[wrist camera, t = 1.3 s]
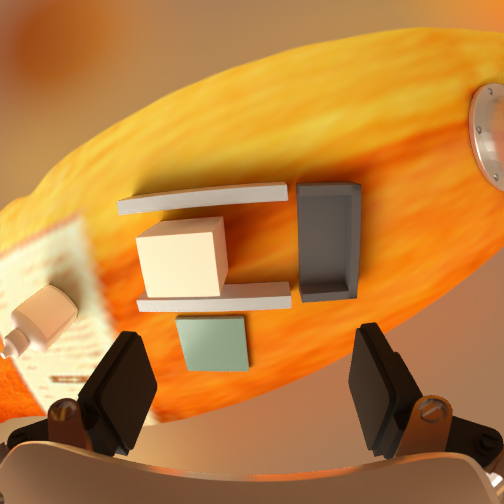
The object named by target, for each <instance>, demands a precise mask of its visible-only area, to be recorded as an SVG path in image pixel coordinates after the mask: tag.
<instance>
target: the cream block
mask: <svg viewBox="0 0 504 504" xmlns="http://www.w3.org/2000/svg"><path fill="white" fill-rule="evenodd" d="M136 243H137V248H138V253H139V258H140V263H141V268H142V273H143V278H144V282H145V287H146V291H147V295H148V297H207V296H220V295H221V292H222V288H223V285H224V282H225V279H226V276H227V273H228V270H229V268H228V259H227V250H226V240H225V230H224V220H223V216H220V217H207V218H195V219H183V220H171V221H160V222H158V223H157V224H155V225H154V226H152V227H151V228H149V229H148V230H146V231H145V232H143V233H142V234H140V235H139V236H138V237H136Z"/></svg>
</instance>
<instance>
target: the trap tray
mask: <svg viewBox="0 0 504 504" xmlns="http://www.w3.org/2000/svg"><path fill="white" fill-rule="evenodd" d="M296 190H297V212H298V243H299V291H300V295H301V299H302V303H304V302H318V301H331V300H343V299H354V298H357V289H358V276H359V260H360V238H361V185H360V184H357V183H354V182H319V183H296Z"/></svg>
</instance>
